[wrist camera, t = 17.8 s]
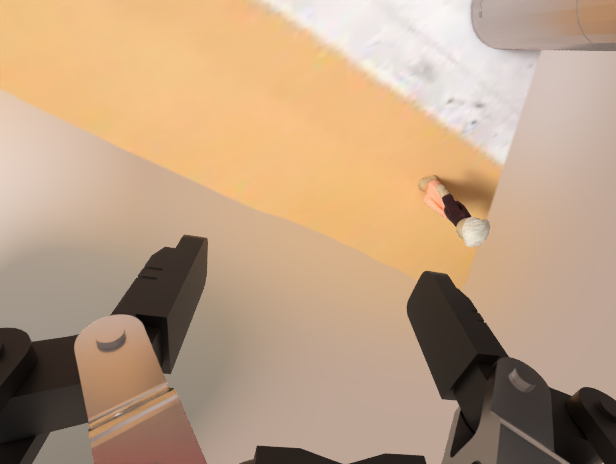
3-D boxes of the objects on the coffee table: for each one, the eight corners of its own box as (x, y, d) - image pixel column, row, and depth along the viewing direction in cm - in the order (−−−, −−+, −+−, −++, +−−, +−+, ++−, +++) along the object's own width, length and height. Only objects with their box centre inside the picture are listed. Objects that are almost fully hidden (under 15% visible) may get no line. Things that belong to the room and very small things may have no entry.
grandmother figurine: (405, 185, 42) (443, 234, 31) (426, 165, 40) (474, 208, 30) (440, 215, 45) (485, 268, 34) (461, 196, 43) (516, 246, 32)
